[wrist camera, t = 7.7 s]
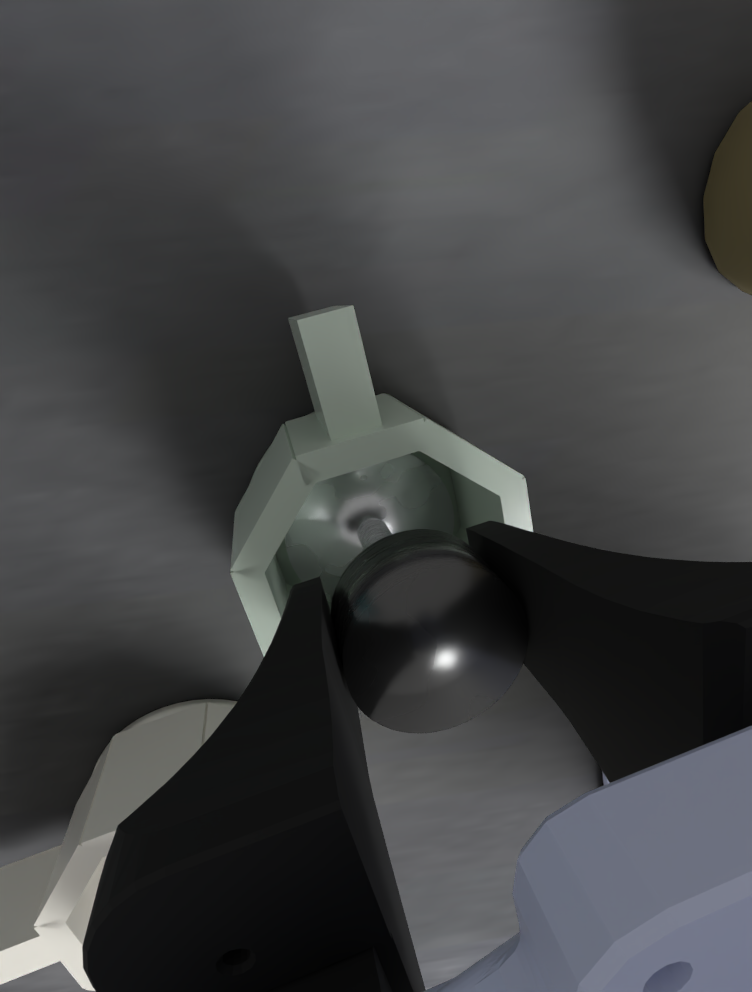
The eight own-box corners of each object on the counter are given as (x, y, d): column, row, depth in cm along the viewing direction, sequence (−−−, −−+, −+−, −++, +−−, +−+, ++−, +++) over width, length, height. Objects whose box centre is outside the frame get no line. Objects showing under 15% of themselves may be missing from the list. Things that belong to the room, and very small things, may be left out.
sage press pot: (486, 574, 18) (549, 645, 14) (286, 643, 18) (296, 738, 14) (431, 278, 15) (495, 267, 11) (174, 346, 14) (145, 361, 10)
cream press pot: (270, 670, 18) (275, 770, 14) (327, 813, 20) (345, 932, 17) (-34, 775, 17) (-121, 918, 13) (70, 913, 19) (25, 1065, 15)
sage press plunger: (429, 421, 15) (546, 494, 9) (460, 568, 17) (573, 708, 11) (260, 472, 15) (267, 586, 9) (311, 619, 16) (346, 796, 10)
